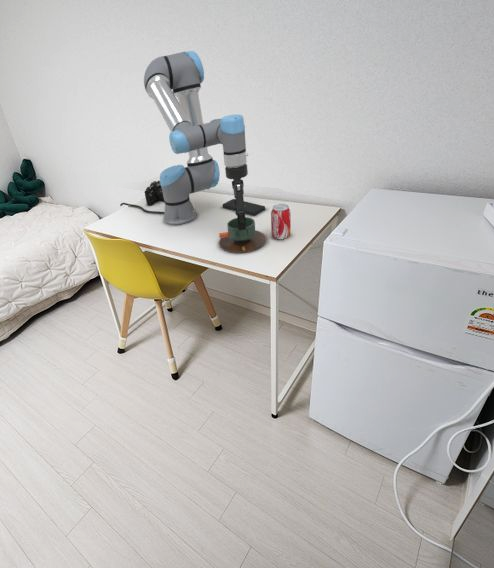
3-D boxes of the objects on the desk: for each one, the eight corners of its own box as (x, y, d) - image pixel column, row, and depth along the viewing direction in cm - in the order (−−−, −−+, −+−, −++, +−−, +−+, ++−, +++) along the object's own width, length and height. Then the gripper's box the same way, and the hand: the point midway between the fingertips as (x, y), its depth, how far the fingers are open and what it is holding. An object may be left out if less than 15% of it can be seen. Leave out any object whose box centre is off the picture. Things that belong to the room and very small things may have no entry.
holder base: (263, 228, 142) (262, 222, 140) (269, 250, 127) (268, 243, 126) (218, 234, 144) (218, 227, 143) (219, 256, 130) (219, 249, 128)
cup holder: (253, 226, 138) (253, 215, 135) (256, 239, 129) (256, 227, 126) (219, 230, 140) (217, 219, 137) (219, 243, 131) (218, 232, 128)
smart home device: (233, 198, 170) (265, 205, 156) (233, 201, 171) (266, 209, 157) (221, 204, 166) (253, 212, 152) (221, 207, 167) (253, 216, 153)
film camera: (167, 205, 182) (163, 187, 176) (145, 207, 185) (141, 189, 179) (176, 193, 196) (172, 175, 190) (155, 194, 199) (151, 177, 194)
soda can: (291, 240, 131) (291, 210, 124) (271, 241, 132) (270, 211, 126) (290, 231, 136) (290, 202, 130) (271, 232, 138) (270, 204, 131)
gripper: (250, 174, 109) (254, 235, 120) (244, 154, 129) (248, 208, 141) (226, 177, 110) (232, 237, 121) (223, 157, 130) (229, 210, 142)
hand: (241, 222), depth 131 cm, fingers open, 13 cm apart
